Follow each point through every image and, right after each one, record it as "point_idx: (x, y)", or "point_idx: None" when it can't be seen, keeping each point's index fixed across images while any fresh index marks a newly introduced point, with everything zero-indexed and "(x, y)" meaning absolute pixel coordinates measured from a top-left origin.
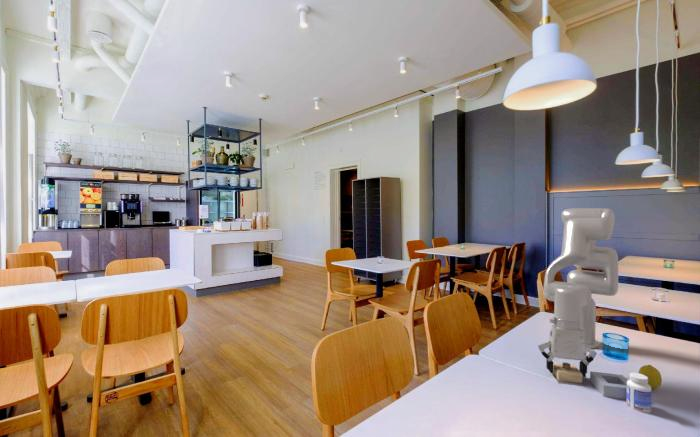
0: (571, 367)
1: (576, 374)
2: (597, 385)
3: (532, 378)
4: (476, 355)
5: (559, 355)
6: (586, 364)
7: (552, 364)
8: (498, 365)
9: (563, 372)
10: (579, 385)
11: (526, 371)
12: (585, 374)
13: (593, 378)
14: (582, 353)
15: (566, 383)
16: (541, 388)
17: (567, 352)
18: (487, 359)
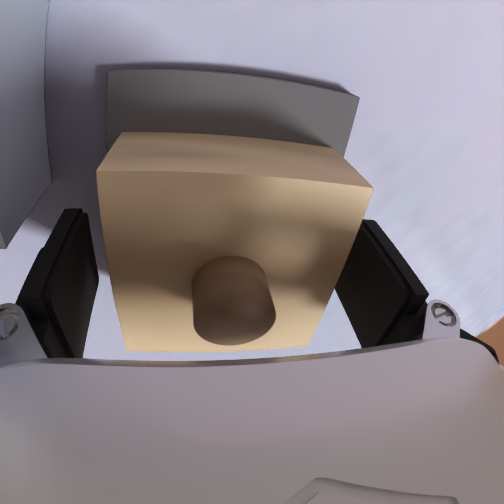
0: (167, 304)
1: (170, 165)
2: (17, 49)
3: (458, 181)
4: (487, 327)
5: (457, 369)
6: (12, 315)
7: (404, 274)
8: (489, 281)
9: (323, 180)
10: (172, 77)
11: (430, 257)
12: (59, 221)
13: (7, 152)
14: (10, 501)
15: (289, 97)
16: (482, 59)
17: (380, 482)
18: (482, 313)
